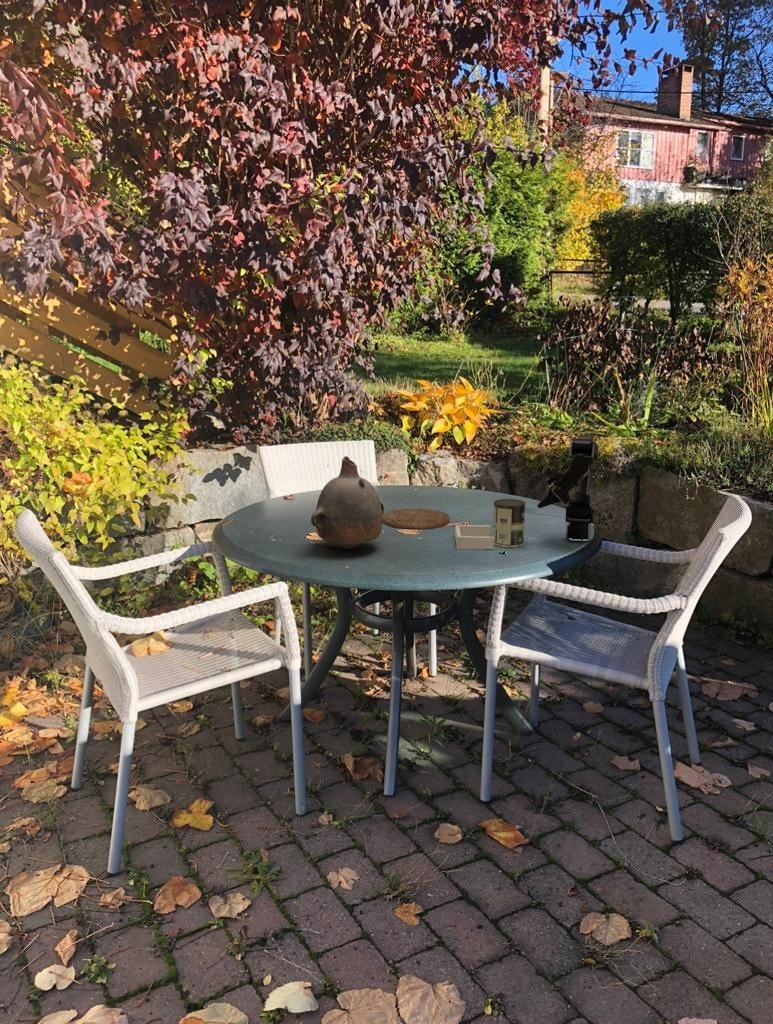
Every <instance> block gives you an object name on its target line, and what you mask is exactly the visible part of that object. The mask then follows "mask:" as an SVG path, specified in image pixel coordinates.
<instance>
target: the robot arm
mask: <svg viewBox="0 0 773 1024" xmlns="http://www.w3.org/2000/svg"><path fill="white" fill-rule="evenodd" d="M594 438H595V437H594V435H592V434H580V435H578V438H576V437H574V438H573V439H572V441H570V445H569V454H568V458H569V459H572V460H571V462H570V464H569V465H570V466H569V467H568V468H567V469H562V470H561V471H560V470H559V468H556V467H555V466H550V465H548V464H545V465H544V467H543V468H542V471H541V473H540V474H542V476H543V477H545V480H544V481H545V482H546V483H547V484H546V486H545V487H546V491H545V493H544V495H543V496H542V497H541V500H540V501H539V502H538V503H537V508H538V509H543V508H544V507H548V506H551V505H555V504H558V503H563V504H564V505H565V523H568V524H566V526H565V529H566V530H565V536H566V538H567V539H568V538H572V539H581V540H583V539H589V527H590V526H589V525H591V524H594V521H595V519H594V518H595V510H594V508H593V506H592V505H591V501H592V500H591V496H590V494H588V489H589V482H590V473H592V470H593V469H595V467H596V462H598V459H599V445H598V444H597V442H596V441H595V440H594ZM574 487H575V489H574V493H571V494H570V491H572V489H573V488H574Z"/></svg>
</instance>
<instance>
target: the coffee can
mask: <svg viewBox="0 0 773 1024" xmlns="http://www.w3.org/2000/svg"><path fill="white" fill-rule="evenodd" d="M526 503H527V502H525V501H524V500H520V499H515V498H514V499H513V498H503V499H502V498H501V499H497V500H494V501H493V531H492V537H494V546H496V545H497V546H496V547H500V546H502V547H501V548H509V547H511V548H516V547H515V546H520V545H522V544H523V543H524V544H525V542H524V537H525V535H524V533H525V515H526V514H525V511H526ZM524 544H523V545H524ZM523 545H522V546H523ZM520 547H521V546H520Z"/></svg>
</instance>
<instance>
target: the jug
mask: <svg viewBox="0 0 773 1024" xmlns="http://www.w3.org/2000/svg"><path fill="white" fill-rule="evenodd" d="M358 471H359V470H358V466H357V464H356V463H355V462H354V461H353V460H351V458H350V457H348V456H347V455H345V456H343V457H342V459H341V466H340V471H339V474H338V476H337V477H334V478H332V479H330V480H329V481H328V482H327V483H325V485H324V487H323V488H322V490H321V492H320V494H319V495H318V499H317V504H316V510H315V511H314V512H313V513H312V515H311V518H310V522H311V523H310V524H311V525H312V526H313V527H315V528H316V532H317V536H318V537H319V538H320V539H321V540H324V541H326V542H328V543H331V544H335V545H339V546H341V547H343V548H345V549H347V550H349V549H352V548H355V547H357V546H360V545H362V544H364V543H371V542H373V541H375V540H376V539H378V538H379V537H380V535H381V532H382V529H383V528H382V527H383V522H382V516H383V514H384V513H385V508H384V507H385V506H384V504H383V503H382V502H381V500H380V498H379V495H378V492H377V490H376V488H375V487H374V486H373V484H372V483H371V482H369V480H367V479H366V478H364V477H361V476H360V474H359V472H358Z"/></svg>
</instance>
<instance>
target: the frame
mask: <svg viewBox="0 0 773 1024" xmlns="http://www.w3.org/2000/svg"><path fill="white" fill-rule="evenodd" d="M454 527H455V531H454V533H455V534H454V537H455V538H454V539H455V543H456V544H455V546H456V549H457V550H484V549H494V548H495V547H494V546H495V545H494V537H493V536H491V525H487V524H486V525H484V524H483V525H482V524H481V525H480V524H479V525H476V524H475V525H474V524H471V525H470V524H469V525H468V524H466V525H465V524H455V526H454Z"/></svg>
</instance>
